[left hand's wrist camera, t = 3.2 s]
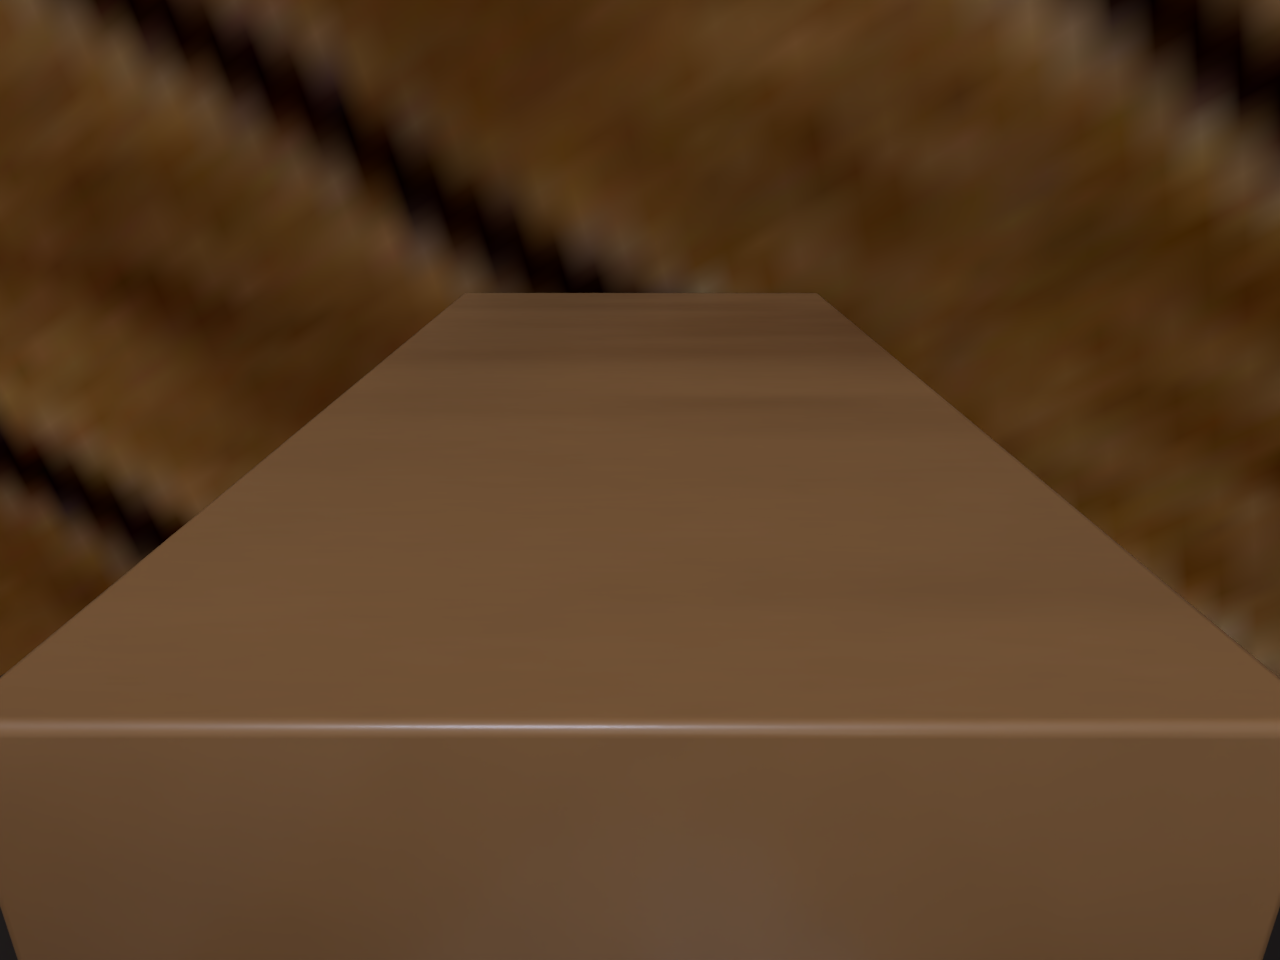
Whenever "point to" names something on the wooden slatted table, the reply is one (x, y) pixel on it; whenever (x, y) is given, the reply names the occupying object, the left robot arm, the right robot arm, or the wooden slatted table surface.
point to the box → (640, 680)
